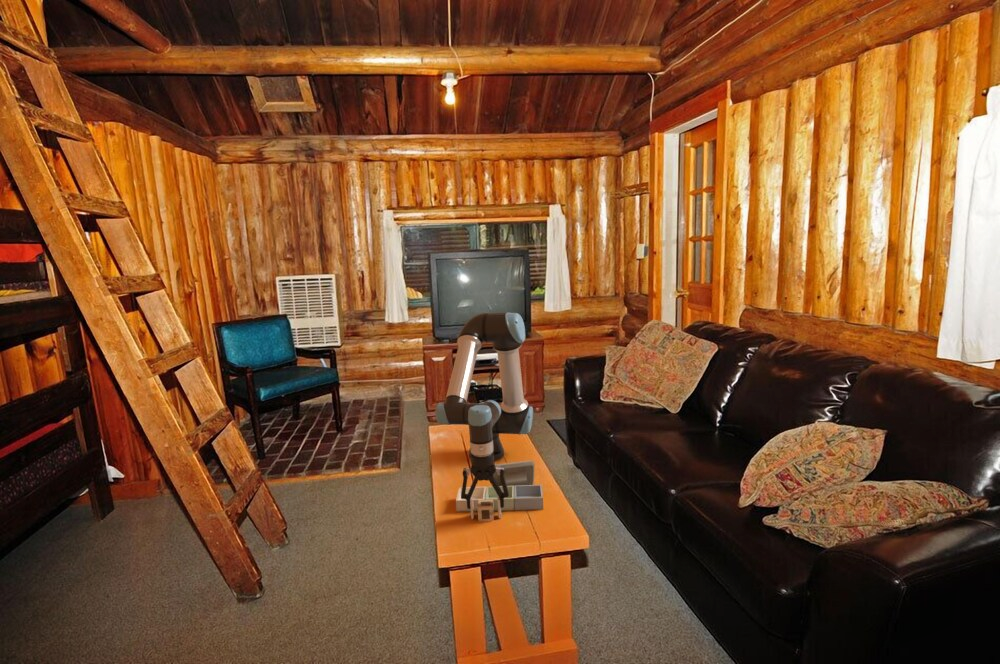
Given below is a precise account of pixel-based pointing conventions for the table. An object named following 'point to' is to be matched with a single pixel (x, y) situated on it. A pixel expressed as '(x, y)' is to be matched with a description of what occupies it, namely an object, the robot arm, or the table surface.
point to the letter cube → (485, 510)
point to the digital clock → (517, 473)
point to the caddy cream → (477, 495)
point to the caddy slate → (528, 497)
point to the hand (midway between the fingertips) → (486, 516)
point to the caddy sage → (508, 500)
